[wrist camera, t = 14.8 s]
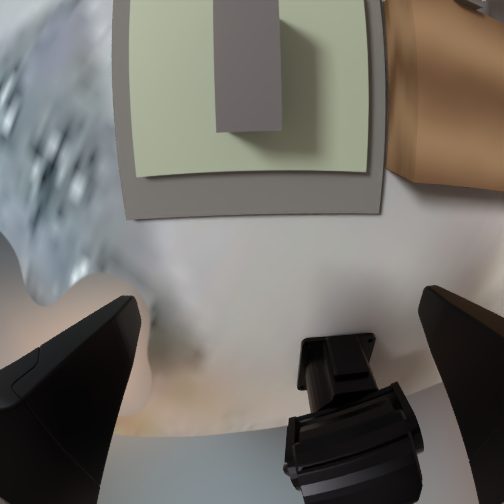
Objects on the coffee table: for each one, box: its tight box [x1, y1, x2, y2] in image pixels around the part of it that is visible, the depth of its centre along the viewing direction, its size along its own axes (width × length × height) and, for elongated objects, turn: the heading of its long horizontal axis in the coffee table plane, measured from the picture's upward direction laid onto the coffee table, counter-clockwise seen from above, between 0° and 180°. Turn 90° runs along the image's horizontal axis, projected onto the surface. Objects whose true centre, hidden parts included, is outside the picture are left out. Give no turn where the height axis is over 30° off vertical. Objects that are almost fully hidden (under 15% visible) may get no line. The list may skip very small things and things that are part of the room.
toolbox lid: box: [129, 0, 369, 177], centre depth 13 cm, size 15×14×4 cm
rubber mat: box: [112, 0, 385, 220], centre depth 16 cm, size 18×17×1 cm
